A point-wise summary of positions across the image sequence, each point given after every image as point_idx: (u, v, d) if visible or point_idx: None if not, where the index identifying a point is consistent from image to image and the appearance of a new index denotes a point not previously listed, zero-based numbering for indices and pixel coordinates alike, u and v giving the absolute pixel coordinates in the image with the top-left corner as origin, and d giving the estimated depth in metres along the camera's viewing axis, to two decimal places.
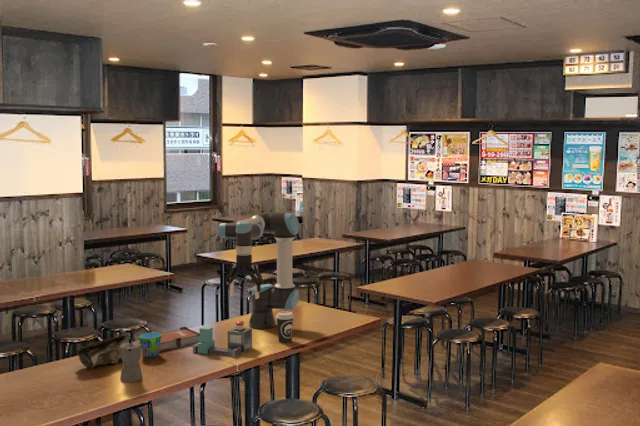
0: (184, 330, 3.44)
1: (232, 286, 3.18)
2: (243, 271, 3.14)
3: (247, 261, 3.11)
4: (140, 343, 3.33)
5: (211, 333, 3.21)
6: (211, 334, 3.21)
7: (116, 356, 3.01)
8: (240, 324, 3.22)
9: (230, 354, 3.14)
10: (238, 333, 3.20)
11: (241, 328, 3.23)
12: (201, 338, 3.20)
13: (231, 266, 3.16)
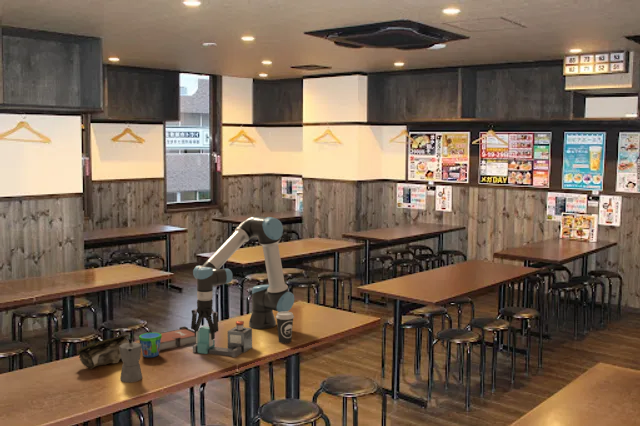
0: (184, 330, 3.45)
1: (198, 334, 3.22)
2: (203, 316, 3.19)
3: (207, 306, 3.16)
4: (140, 343, 3.33)
5: None
6: None
7: (117, 356, 3.01)
8: (240, 324, 3.22)
9: (230, 354, 3.14)
10: (238, 333, 3.20)
11: (241, 328, 3.23)
12: (201, 338, 3.20)
13: (193, 312, 3.21)
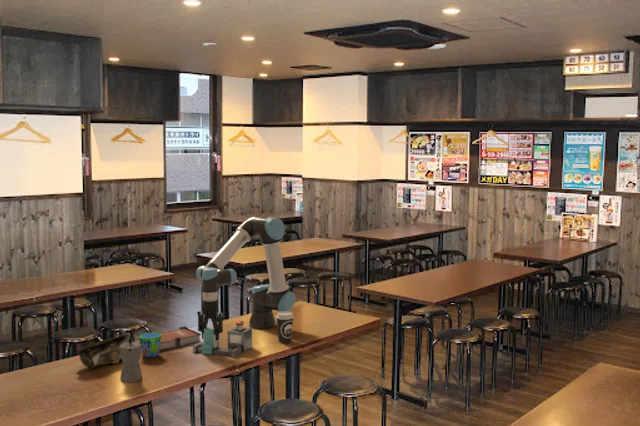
0: (184, 330, 3.45)
1: None
2: (209, 316, 3.18)
3: (212, 307, 3.15)
4: (140, 343, 3.33)
5: None
6: None
7: (117, 356, 3.01)
8: (240, 324, 3.22)
9: (230, 354, 3.14)
10: (238, 333, 3.20)
11: (241, 328, 3.23)
12: (205, 338, 3.19)
13: (198, 314, 3.20)
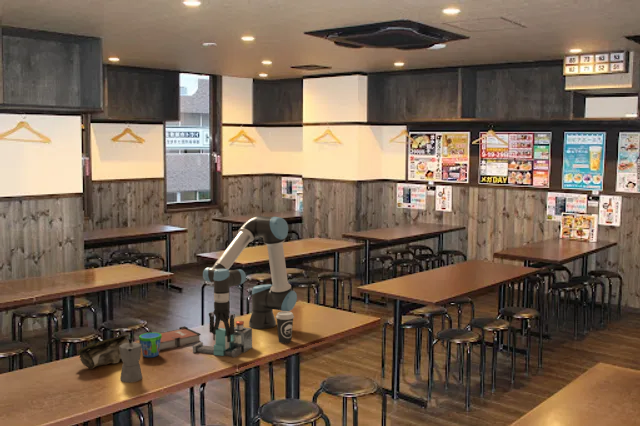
0: (184, 330, 3.45)
1: None
2: (221, 318, 3.16)
3: (224, 308, 3.13)
4: None
5: None
6: None
7: (117, 356, 3.01)
8: (240, 324, 3.22)
9: (230, 354, 3.14)
10: (238, 333, 3.20)
11: (241, 328, 3.23)
12: (217, 340, 3.17)
13: (210, 315, 3.18)
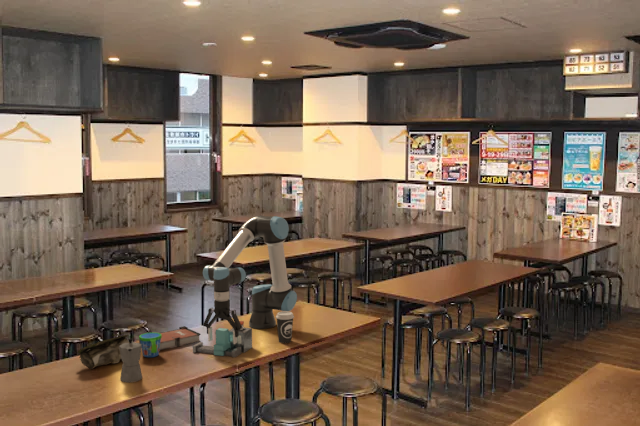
0: (183, 330, 3.45)
1: (210, 330, 3.20)
2: (221, 316, 3.16)
3: (224, 306, 3.13)
4: (139, 342, 3.34)
5: (227, 335, 3.18)
6: (227, 335, 3.18)
7: (117, 356, 3.01)
8: None
9: (230, 354, 3.14)
10: None
11: None
12: (217, 340, 3.17)
13: (209, 311, 3.18)
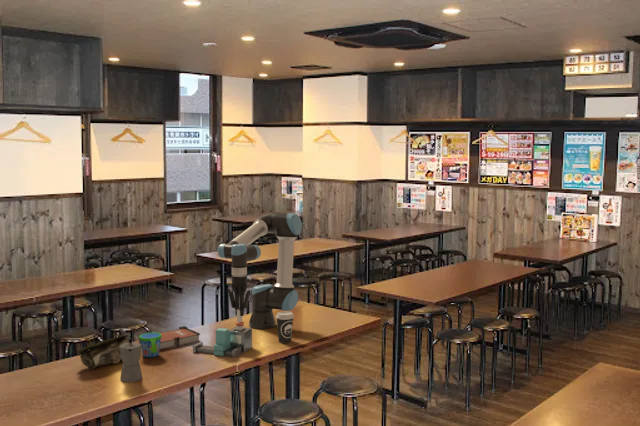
0: (183, 329, 3.45)
1: None
2: (238, 292, 3.21)
3: (242, 282, 3.19)
4: (139, 342, 3.34)
5: (227, 335, 3.18)
6: (227, 335, 3.18)
7: (118, 356, 3.01)
8: (240, 325, 3.22)
9: (230, 354, 3.14)
10: (238, 333, 3.20)
11: (241, 329, 3.23)
12: (217, 340, 3.17)
13: (228, 291, 3.23)
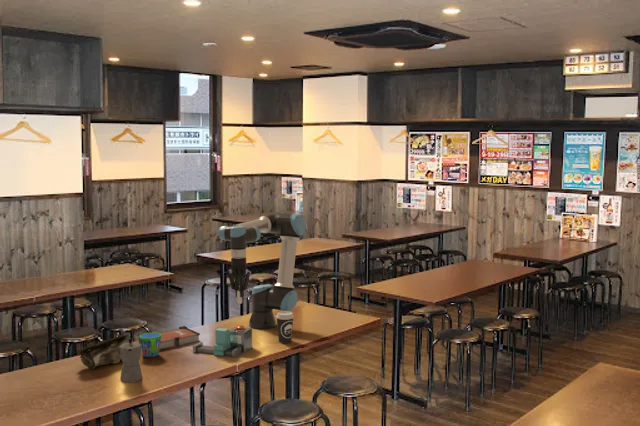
0: (183, 329, 3.46)
1: None
2: (238, 273, 3.24)
3: (241, 263, 3.21)
4: (139, 342, 3.34)
5: (227, 335, 3.18)
6: (227, 335, 3.18)
7: (118, 356, 3.01)
8: (240, 329, 3.23)
9: (230, 354, 3.14)
10: (238, 333, 3.20)
11: None
12: (217, 340, 3.17)
13: (228, 273, 3.25)
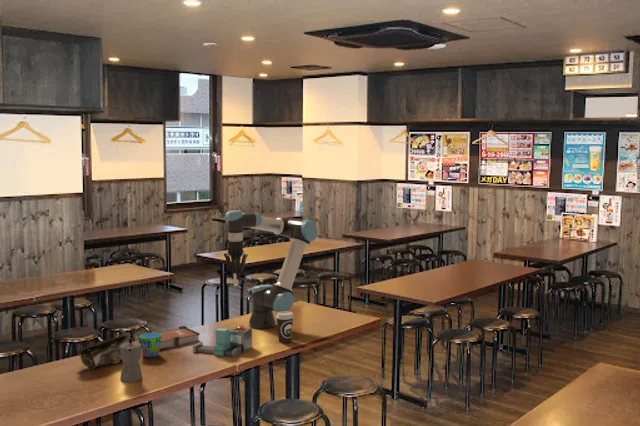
0: (183, 329, 3.46)
1: None
2: (235, 256, 3.34)
3: (238, 246, 3.31)
4: (139, 342, 3.35)
5: (227, 335, 3.18)
6: (227, 335, 3.18)
7: (118, 356, 3.01)
8: (240, 329, 3.23)
9: (230, 354, 3.14)
10: (238, 333, 3.20)
11: None
12: (217, 340, 3.17)
13: (225, 255, 3.36)
